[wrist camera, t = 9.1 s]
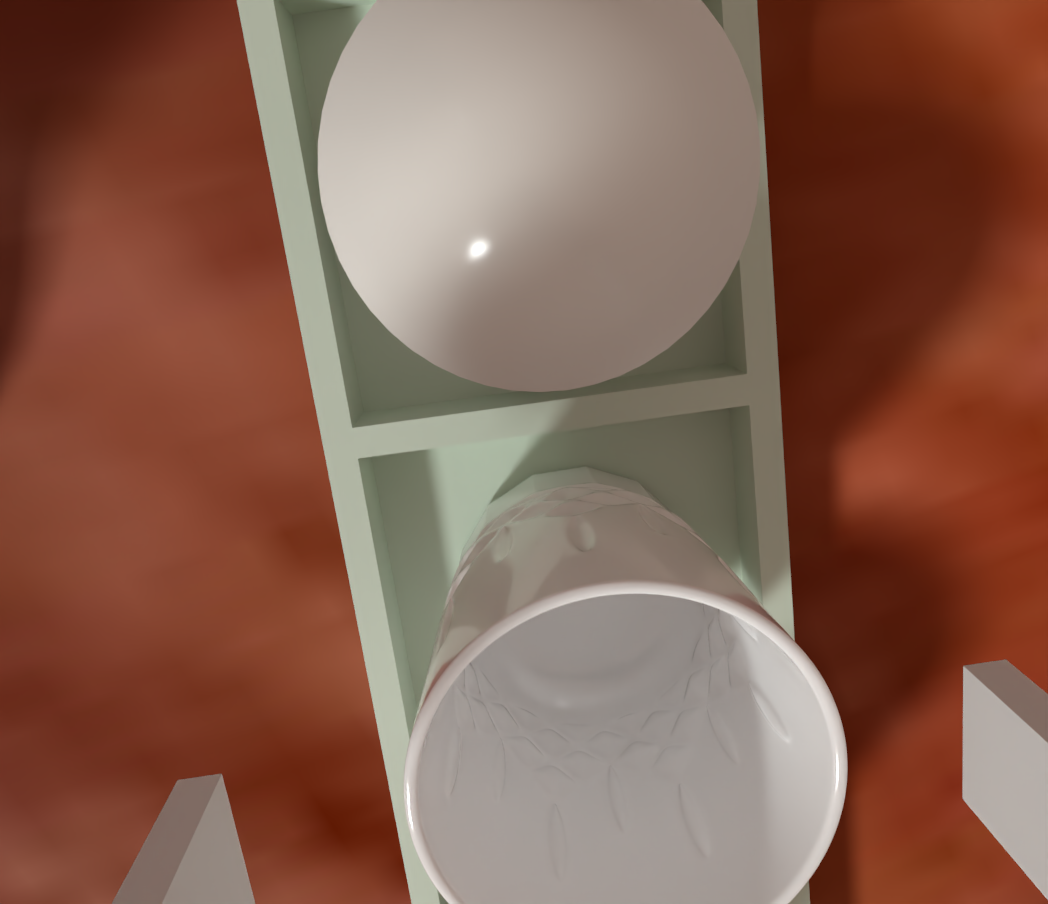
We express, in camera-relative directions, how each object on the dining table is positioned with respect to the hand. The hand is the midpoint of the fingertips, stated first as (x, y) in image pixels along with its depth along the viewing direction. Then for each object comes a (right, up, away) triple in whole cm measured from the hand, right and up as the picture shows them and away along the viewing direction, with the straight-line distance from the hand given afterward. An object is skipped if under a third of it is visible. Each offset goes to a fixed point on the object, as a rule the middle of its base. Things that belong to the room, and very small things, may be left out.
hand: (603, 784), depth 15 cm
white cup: (0, +2, +10) cm, 10 cm away
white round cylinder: (-2, +12, +7) cm, 14 cm away
